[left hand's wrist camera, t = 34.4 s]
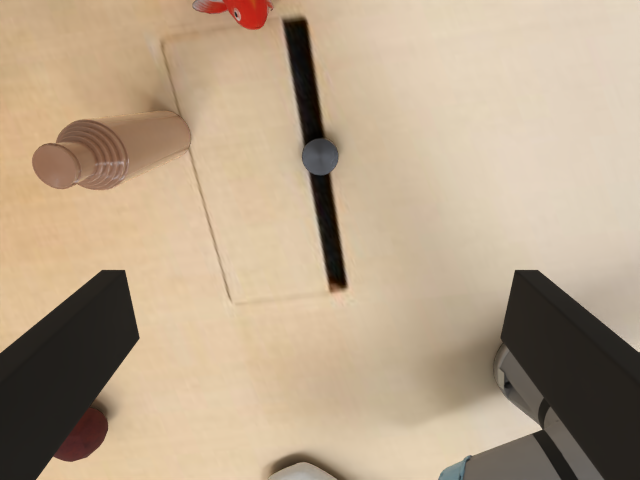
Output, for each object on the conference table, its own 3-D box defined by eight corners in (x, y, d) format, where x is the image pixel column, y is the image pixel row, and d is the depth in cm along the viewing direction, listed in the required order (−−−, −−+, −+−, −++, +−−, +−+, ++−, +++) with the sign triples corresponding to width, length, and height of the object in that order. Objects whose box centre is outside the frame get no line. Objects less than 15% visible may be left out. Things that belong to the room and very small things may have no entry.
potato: (58, 397, 56) (23, 437, 50) (108, 393, 56) (80, 433, 49) (75, 433, 59) (44, 476, 52) (123, 429, 59) (98, 472, 52)
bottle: (133, 123, 42) (-7, 147, 24) (173, 101, 41) (59, 109, 23) (161, 166, 44) (49, 219, 26) (200, 146, 43) (112, 186, 25)
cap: (303, 172, 44) (302, 175, 42) (302, 137, 42) (301, 138, 41) (337, 171, 44) (338, 174, 42) (337, 136, 42) (338, 138, 41)
